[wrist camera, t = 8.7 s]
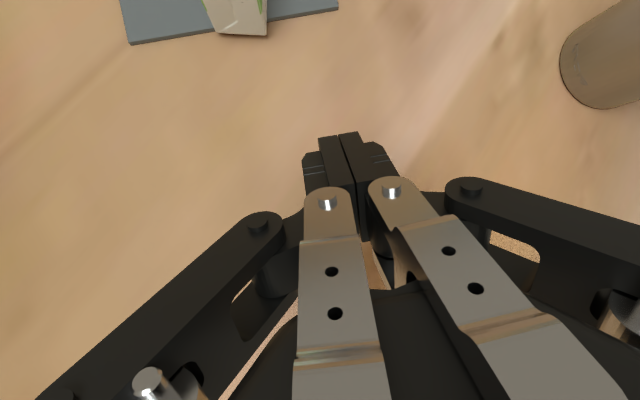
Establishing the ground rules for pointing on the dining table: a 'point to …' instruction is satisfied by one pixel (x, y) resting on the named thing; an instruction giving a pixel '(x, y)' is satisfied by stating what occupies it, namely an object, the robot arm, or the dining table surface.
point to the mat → (197, 16)
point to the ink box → (237, 16)
